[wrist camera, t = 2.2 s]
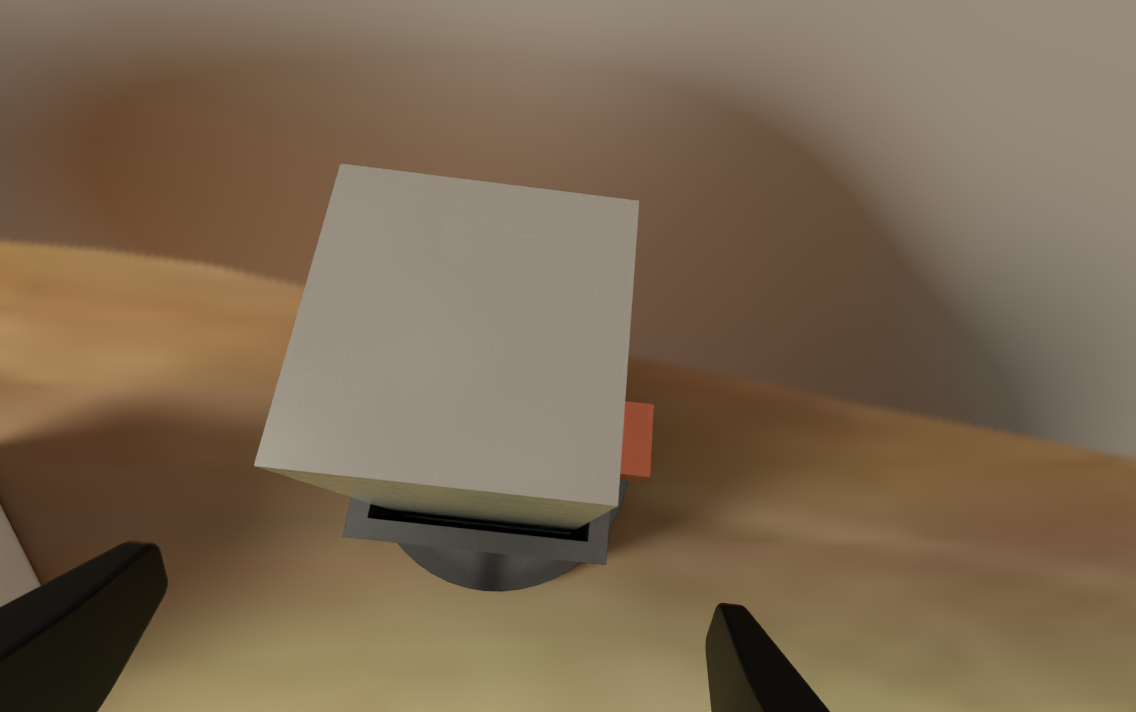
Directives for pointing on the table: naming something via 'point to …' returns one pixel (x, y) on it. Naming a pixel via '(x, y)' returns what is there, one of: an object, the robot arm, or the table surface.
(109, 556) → the robot arm
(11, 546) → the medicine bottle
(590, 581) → the table surface
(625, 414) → the base
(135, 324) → the table surface
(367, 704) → the table surface
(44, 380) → the table surface
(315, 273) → the column
